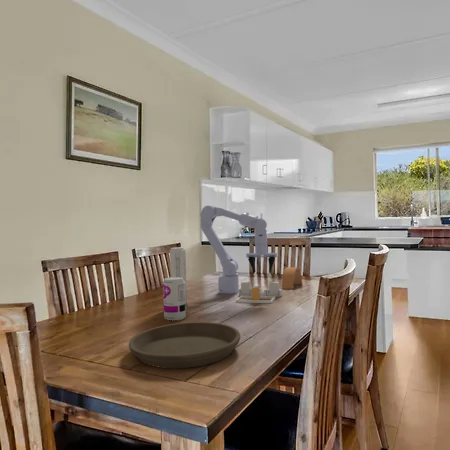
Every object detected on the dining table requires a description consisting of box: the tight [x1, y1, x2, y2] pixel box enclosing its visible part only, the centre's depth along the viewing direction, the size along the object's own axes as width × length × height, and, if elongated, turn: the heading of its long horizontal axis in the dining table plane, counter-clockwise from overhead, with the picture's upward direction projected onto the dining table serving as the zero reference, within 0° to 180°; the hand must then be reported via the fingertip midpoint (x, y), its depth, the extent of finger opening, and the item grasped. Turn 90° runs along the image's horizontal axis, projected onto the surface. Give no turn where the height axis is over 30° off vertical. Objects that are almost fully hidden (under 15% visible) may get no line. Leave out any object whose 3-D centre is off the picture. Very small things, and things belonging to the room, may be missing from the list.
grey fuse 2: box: [268, 281, 280, 294], centre depth 181 cm, size 4×2×6 cm, turn 73°
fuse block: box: [238, 287, 283, 298], centre depth 183 cm, size 19×7×4 cm, turn 73°
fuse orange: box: [251, 285, 261, 300], centre depth 172 cm, size 4×2×6 cm, turn 163°
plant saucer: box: [128, 321, 241, 369], centre depth 113 cm, size 31×31×5 cm
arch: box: [281, 266, 303, 290], centre depth 205 cm, size 6×20×10 cm, turn 156°
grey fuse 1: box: [240, 281, 252, 294], centre depth 184 cm, size 4×2×6 cm, turn 73°
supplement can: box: [162, 276, 187, 322], centre depth 150 cm, size 8×8×15 cm
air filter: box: [169, 246, 188, 308], centre depth 169 cm, size 6×6×25 cm
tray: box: [235, 296, 276, 304], centre depth 172 cm, size 15×9×2 cm, turn 73°
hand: (262, 272), depth 191 cm, fingers open, 7 cm apart
